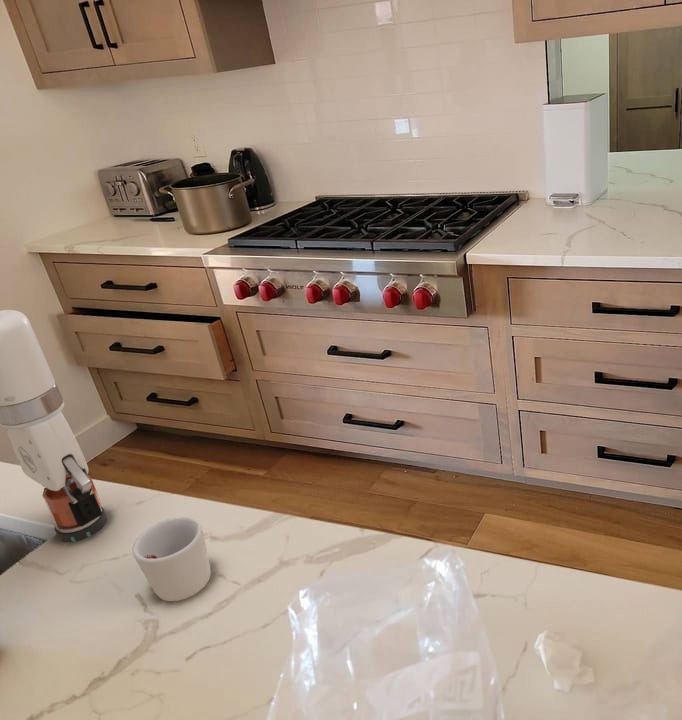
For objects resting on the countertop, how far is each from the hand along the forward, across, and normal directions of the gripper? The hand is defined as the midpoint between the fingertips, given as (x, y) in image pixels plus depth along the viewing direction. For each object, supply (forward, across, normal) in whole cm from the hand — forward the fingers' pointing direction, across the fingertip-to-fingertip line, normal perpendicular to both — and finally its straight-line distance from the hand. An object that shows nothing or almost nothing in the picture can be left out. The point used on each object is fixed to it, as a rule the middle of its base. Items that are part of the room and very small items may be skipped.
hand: (77, 511), depth 96 cm
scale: (+3, 0, 0) cm, 3 cm away
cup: (+4, +22, +1) cm, 23 cm away
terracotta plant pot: (+1, 0, 0) cm, 1 cm away
